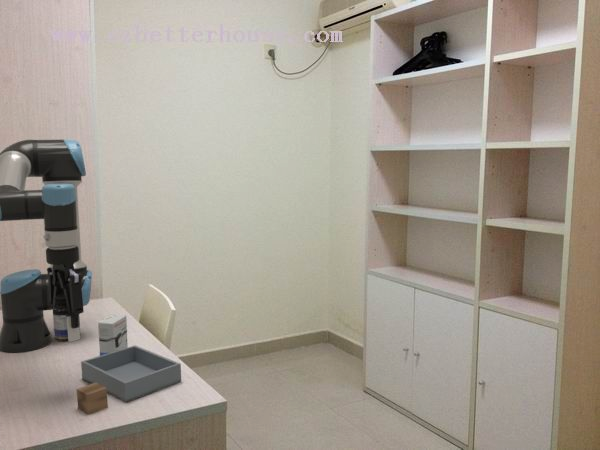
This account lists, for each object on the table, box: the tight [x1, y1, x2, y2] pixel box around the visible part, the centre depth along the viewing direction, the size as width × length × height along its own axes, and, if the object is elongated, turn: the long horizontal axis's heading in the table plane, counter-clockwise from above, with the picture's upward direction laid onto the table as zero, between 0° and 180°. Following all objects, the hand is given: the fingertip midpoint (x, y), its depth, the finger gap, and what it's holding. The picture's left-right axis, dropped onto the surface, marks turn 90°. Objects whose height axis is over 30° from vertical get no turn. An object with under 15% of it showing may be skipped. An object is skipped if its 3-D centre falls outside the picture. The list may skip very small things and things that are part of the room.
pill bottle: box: [52, 294, 82, 343], centre depth 141 cm, size 6×6×11 cm
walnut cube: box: [76, 383, 109, 415], centre depth 136 cm, size 5×5×5 cm
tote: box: [81, 344, 182, 404], centre depth 151 cm, size 22×17×5 cm
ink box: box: [97, 314, 129, 356], centre depth 168 cm, size 8×5×12 cm, turn 168°
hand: (67, 336), depth 142 cm, fingers closed on pill bottle, 6 cm apart
